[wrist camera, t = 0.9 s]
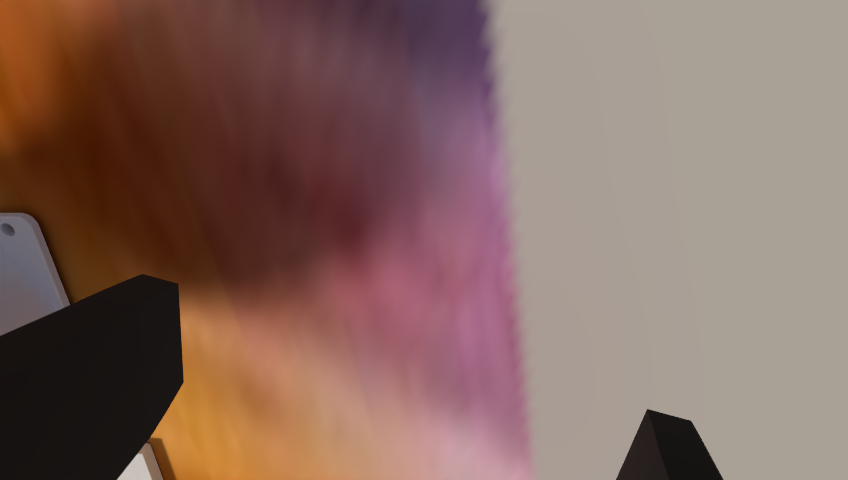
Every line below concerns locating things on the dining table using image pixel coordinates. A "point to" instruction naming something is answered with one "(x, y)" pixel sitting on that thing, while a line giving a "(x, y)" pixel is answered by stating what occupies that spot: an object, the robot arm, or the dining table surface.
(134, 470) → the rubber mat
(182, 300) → the dining table surface
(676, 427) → the robot arm
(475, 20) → the dining table surface
